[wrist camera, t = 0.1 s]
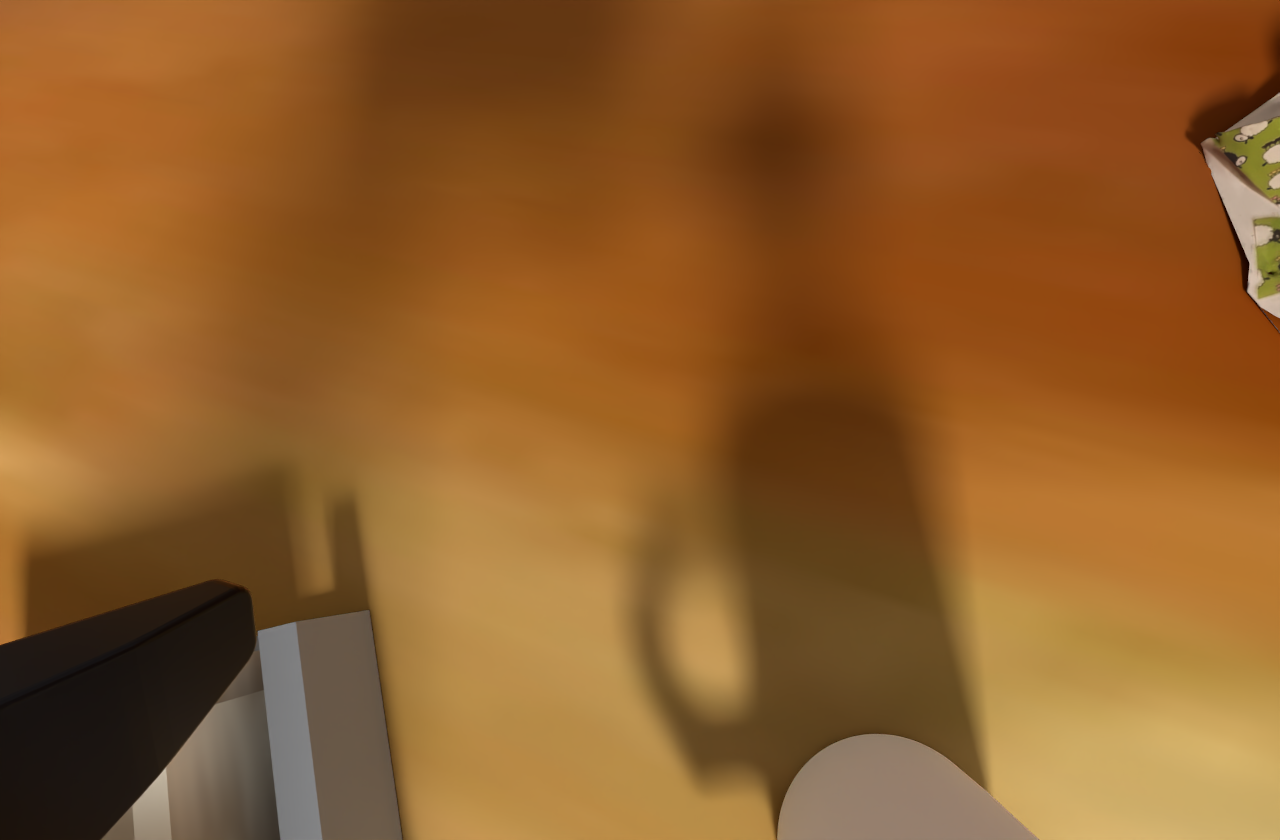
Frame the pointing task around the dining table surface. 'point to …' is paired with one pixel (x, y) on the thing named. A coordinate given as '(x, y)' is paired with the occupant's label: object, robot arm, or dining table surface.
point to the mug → (890, 796)
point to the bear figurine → (1253, 194)
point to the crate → (214, 776)
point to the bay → (328, 730)
